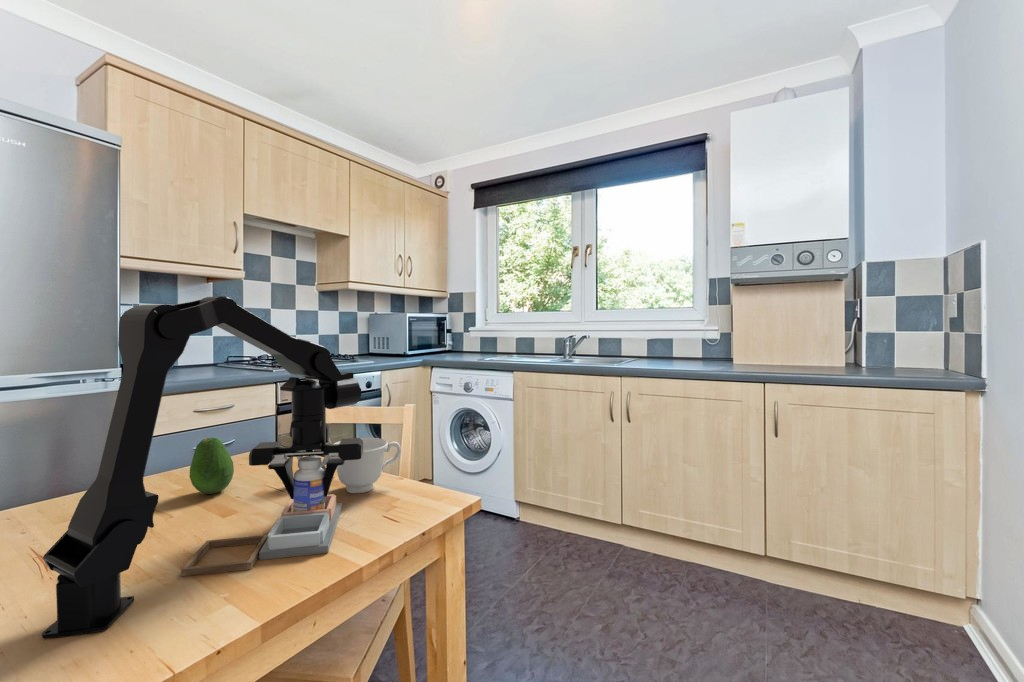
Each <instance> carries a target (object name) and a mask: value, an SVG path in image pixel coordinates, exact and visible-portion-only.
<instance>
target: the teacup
mask: <svg viewBox="0 0 1024 682" xmlns="http://www.w3.org/2000/svg"><path fill="white" fill-rule="evenodd" d="M360 438H361V439H362V440H363V454H362V457H361V459H358V460H345V462H344V464H343V465H338V466H337V468H336V472H337V477H338V480H339V481H340V483H341V484H342V485H344V486H346V489H345V490H346V492H348V493H351V494H363V493H366V492H367V493H368V492H370V491H372V490H373V489H374V488H375V487H374V483H376V482H377V481H378V480H379V479H380V477H381V475H382V472H383V470H384V469H385V468H386V466H388V465H389V464H391V463H394V462H396V461H397V460H398V459H399V458H400V456H401V455H402V454H401V453H402V448H401V445H400V444H399V442H397V441H391V442H389V443H388V441H387V440H386V439H383V438H378V437H360ZM340 442H341V440H339V441H336V442H334V443H333V444H339V443H340ZM392 447H396V453H395V455H393V456H392V457H391V458H388V459H387V460H386V461H384V456H385V453H389V452H391V448H392Z"/></svg>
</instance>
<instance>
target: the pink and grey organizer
mask: <svg viewBox="0 0 1024 682" xmlns="http://www.w3.org/2000/svg"><path fill="white" fill-rule="evenodd" d="M342 510H343V503H342V502H337V495H335V493H333V494H331V493H328V495H327V497H325V509H321V510H309V511H298V512H294V509H293V499H291V498H290V499H289V500H288V502H287V503H286V505H285V507H284V509H283V510H282V512H281V516H280V517H279V518H277V519H276V521H275V522H274V524H273V526H272V528H271V529H270V530H269V532H268V534H267V535H268V539H267V541H266V542H265V544H264V545H263V547H262V549H261V550H260V552H259V557H258V560H260V561H262V560H271V559H281V558H282V559H283V558H292V557H301V556H302V557H303V556H311V555H318V554H321V555H322V554H328V553H329V551H330V548H331V545H332V542H333V539H334V535H335V533H336V529H337V525H338V522H339V519H340V518H341V517H340V515H341V513H342Z"/></svg>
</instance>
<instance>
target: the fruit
mask: <svg viewBox="0 0 1024 682" xmlns="http://www.w3.org/2000/svg"><path fill="white" fill-rule="evenodd" d="M193 453H194V454H193V456H192V459H191V464H190V467H189V479H190V482H191V485H192V486H193V487H194V488H195V489H196V491H198V492H199V493H201V494H202V493H203V494H205V495H209V494H210V495H213V494H217V493H219V492H222V491H224V490H225V489H226V488H228V487H229V485H230V483H231V481H232V480H233V478H234V471H235V469H234V461H233V459H232V457H231V454H230V453H229V450H228V448H227V447H226V446H225V444H224V443H223V442H222V441H221V440H220V439H219V438H217V437H213V436H211V437H207V438H204V439H202V440H201V441H200V442H199V443H198V444H196V446H195V450H194V452H193Z"/></svg>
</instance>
